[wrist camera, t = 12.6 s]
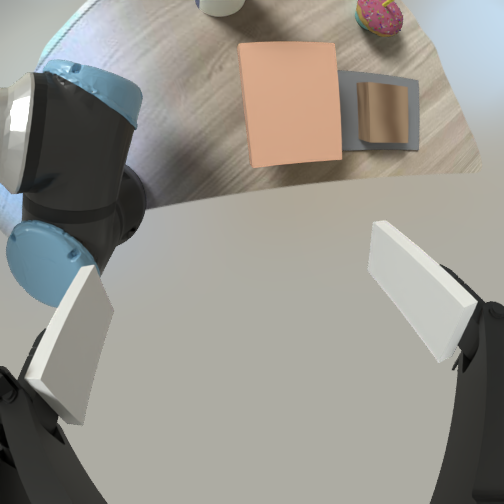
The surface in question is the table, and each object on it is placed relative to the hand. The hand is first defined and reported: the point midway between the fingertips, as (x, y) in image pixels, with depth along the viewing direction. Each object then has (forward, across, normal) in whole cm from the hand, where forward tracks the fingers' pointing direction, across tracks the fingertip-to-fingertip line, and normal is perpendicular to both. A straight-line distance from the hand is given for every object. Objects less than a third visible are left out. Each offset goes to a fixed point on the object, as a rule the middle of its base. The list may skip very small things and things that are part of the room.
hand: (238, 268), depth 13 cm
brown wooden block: (+35, +28, +5) cm, 45 cm away
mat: (+35, +29, +5) cm, 45 cm away
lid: (+27, +10, +7) cm, 29 cm away
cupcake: (+35, +28, +23) cm, 50 cm away
